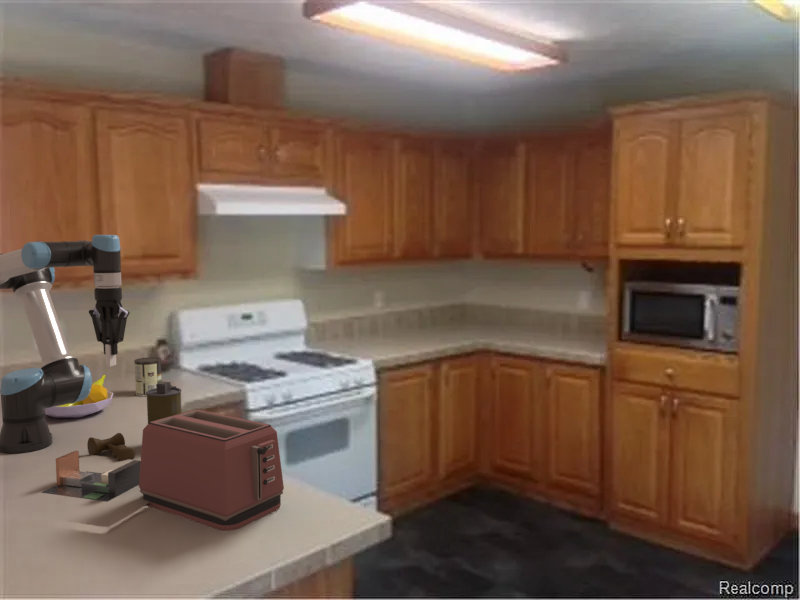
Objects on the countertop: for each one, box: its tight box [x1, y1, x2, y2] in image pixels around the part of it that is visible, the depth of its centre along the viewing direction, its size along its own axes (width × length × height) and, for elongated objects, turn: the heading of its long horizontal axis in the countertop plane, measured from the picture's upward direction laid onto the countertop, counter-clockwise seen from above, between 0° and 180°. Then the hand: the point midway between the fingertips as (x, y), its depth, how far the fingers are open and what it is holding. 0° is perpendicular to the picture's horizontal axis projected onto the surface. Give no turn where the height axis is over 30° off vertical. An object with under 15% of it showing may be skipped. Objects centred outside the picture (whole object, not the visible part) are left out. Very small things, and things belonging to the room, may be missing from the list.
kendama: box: [86, 432, 136, 462], centre depth 210 cm, size 6×10×20 cm
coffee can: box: [134, 356, 163, 397], centre depth 287 cm, size 10×10×14 cm
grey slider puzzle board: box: [41, 459, 141, 503], centre depth 182 cm, size 20×16×7 cm
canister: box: [146, 381, 183, 425], centre depth 219 cm, size 11×10×20 cm
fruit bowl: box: [45, 374, 114, 419], centre depth 258 cm, size 28×27×11 cm
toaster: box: [138, 408, 285, 531], centre depth 172 cm, size 19×34×20 cm, turn 57°
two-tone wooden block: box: [55, 450, 94, 487], centre depth 184 cm, size 6×7×7 cm
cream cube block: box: [101, 469, 114, 484], centre depth 181 cm, size 4×4×4 cm
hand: (111, 365), depth 211 cm, fingers closed
